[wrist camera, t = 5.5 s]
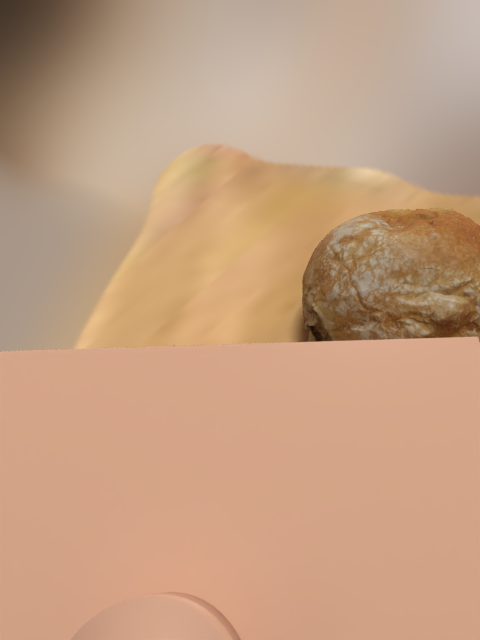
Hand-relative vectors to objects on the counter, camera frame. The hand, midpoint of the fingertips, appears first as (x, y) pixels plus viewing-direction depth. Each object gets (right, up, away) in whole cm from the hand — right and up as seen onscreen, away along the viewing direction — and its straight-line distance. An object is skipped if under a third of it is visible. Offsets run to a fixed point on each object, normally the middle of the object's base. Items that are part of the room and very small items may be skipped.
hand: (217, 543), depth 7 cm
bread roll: (+9, +4, +17) cm, 19 cm away
